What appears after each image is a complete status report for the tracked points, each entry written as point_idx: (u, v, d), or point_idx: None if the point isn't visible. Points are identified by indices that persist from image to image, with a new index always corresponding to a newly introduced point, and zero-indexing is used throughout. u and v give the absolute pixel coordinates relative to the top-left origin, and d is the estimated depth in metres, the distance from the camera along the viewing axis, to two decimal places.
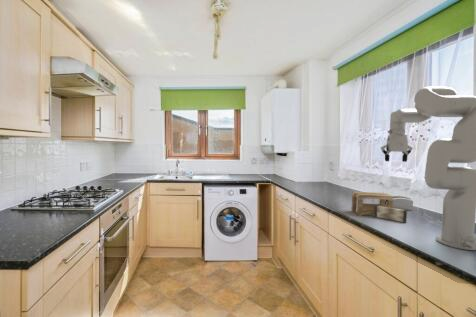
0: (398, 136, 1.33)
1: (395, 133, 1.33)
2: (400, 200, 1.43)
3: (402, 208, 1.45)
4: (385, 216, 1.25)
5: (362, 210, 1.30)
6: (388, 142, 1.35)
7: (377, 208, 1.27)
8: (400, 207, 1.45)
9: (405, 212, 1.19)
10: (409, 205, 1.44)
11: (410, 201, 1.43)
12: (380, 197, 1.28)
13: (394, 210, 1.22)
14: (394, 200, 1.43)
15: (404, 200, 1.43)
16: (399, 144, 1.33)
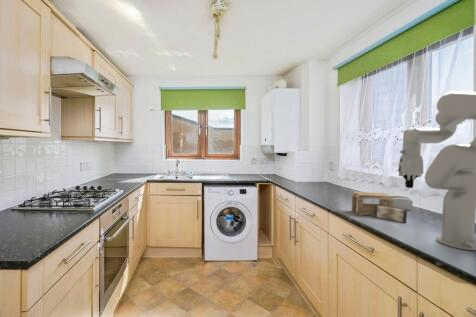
0: (412, 157, 1.18)
1: (409, 154, 1.18)
2: (399, 200, 1.43)
3: (401, 208, 1.45)
4: (385, 216, 1.25)
5: (362, 210, 1.30)
6: (401, 164, 1.20)
7: (377, 208, 1.27)
8: (399, 207, 1.45)
9: (405, 212, 1.19)
10: (408, 205, 1.44)
11: (409, 201, 1.42)
12: (380, 197, 1.28)
13: (394, 210, 1.22)
14: (393, 200, 1.44)
15: (403, 200, 1.43)
16: (413, 166, 1.18)
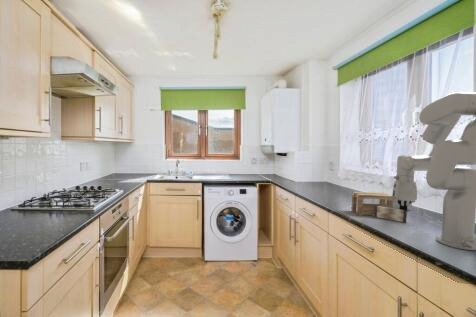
0: (406, 184, 1.19)
1: (403, 180, 1.19)
2: None
3: None
4: (385, 216, 1.24)
5: (362, 210, 1.30)
6: (395, 189, 1.21)
7: (377, 208, 1.27)
8: (399, 207, 1.45)
9: (405, 212, 1.18)
10: None
11: None
12: (380, 197, 1.28)
13: (394, 210, 1.22)
14: None
15: None
16: (407, 192, 1.19)
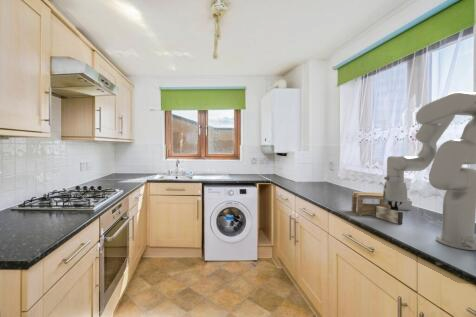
0: (396, 184, 1.19)
1: (392, 181, 1.19)
2: None
3: (401, 208, 1.45)
4: (382, 216, 1.24)
5: (362, 210, 1.30)
6: (385, 190, 1.21)
7: (376, 208, 1.27)
8: (398, 207, 1.45)
9: (399, 214, 1.15)
10: (408, 205, 1.43)
11: (409, 201, 1.42)
12: (380, 197, 1.28)
13: (390, 211, 1.20)
14: None
15: None
16: (397, 193, 1.19)
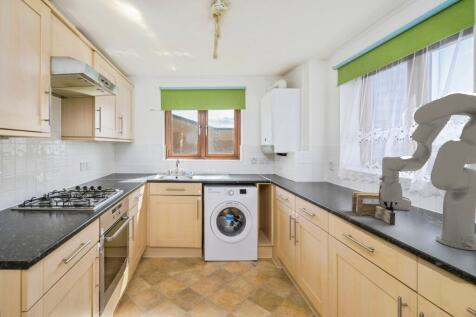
0: (391, 185, 1.19)
1: (388, 181, 1.19)
2: None
3: (400, 208, 1.45)
4: (379, 216, 1.24)
5: (362, 210, 1.30)
6: (380, 191, 1.21)
7: (375, 208, 1.27)
8: (398, 207, 1.45)
9: (391, 214, 1.15)
10: (407, 205, 1.43)
11: (408, 201, 1.42)
12: None
13: (385, 211, 1.19)
14: None
15: (402, 200, 1.43)
16: (392, 193, 1.19)
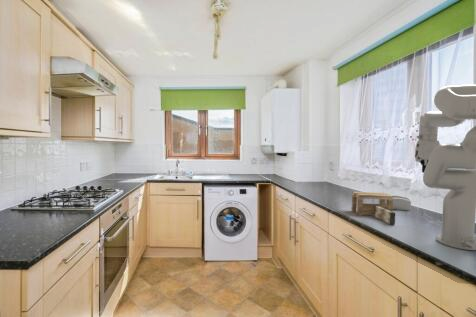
0: (430, 142, 1.17)
1: (426, 139, 1.17)
2: (397, 200, 1.43)
3: (399, 208, 1.45)
4: (379, 216, 1.24)
5: (362, 210, 1.30)
6: (418, 149, 1.20)
7: (375, 208, 1.27)
8: (397, 207, 1.45)
9: (391, 214, 1.15)
10: (407, 205, 1.43)
11: (407, 201, 1.42)
12: (380, 197, 1.28)
13: (385, 211, 1.19)
14: None
15: (401, 200, 1.43)
16: (430, 151, 1.17)
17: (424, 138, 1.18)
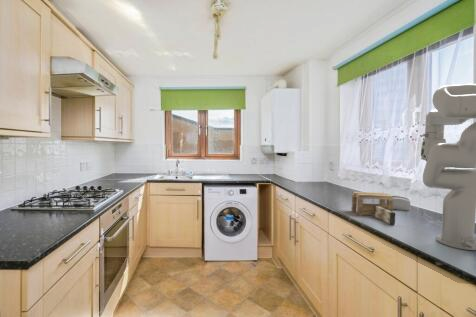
0: (436, 140, 1.17)
1: (432, 137, 1.17)
2: (396, 200, 1.43)
3: (399, 208, 1.45)
4: (379, 216, 1.24)
5: (362, 210, 1.30)
6: (424, 147, 1.20)
7: (375, 208, 1.27)
8: (397, 207, 1.45)
9: (391, 214, 1.15)
10: (406, 205, 1.43)
11: (407, 201, 1.42)
12: (380, 197, 1.28)
13: (385, 211, 1.19)
14: None
15: (400, 200, 1.43)
16: None
17: (430, 136, 1.18)
